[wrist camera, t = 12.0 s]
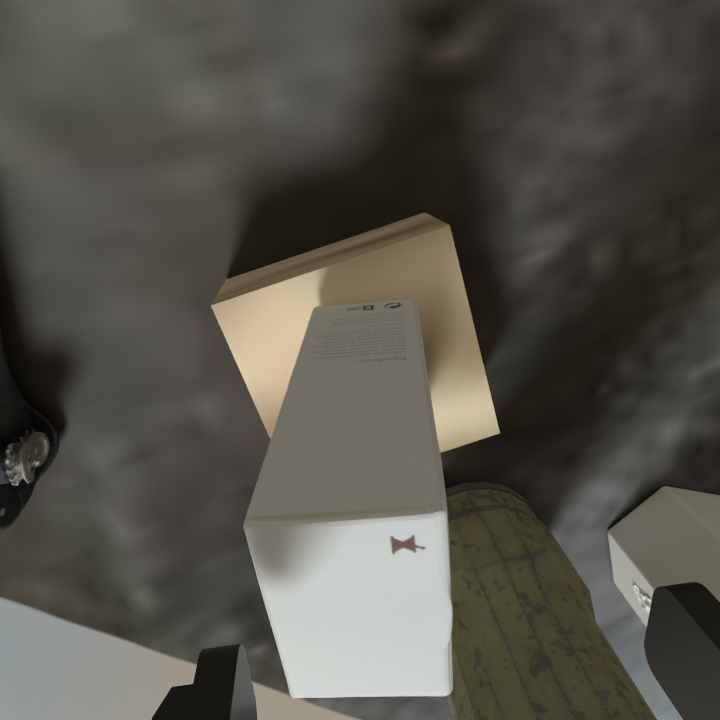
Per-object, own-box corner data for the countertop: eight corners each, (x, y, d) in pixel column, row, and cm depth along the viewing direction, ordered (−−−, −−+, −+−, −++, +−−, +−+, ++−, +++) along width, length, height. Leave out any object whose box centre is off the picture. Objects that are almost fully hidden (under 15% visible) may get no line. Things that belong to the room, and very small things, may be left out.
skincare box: (309, 304, 21) (235, 517, 10) (417, 295, 21) (455, 506, 10) (329, 431, 24) (286, 705, 13) (424, 424, 23) (460, 701, 13)
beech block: (227, 277, 26) (211, 305, 21) (423, 211, 25) (449, 225, 21) (298, 444, 29) (297, 499, 25) (468, 388, 29) (500, 433, 25)
